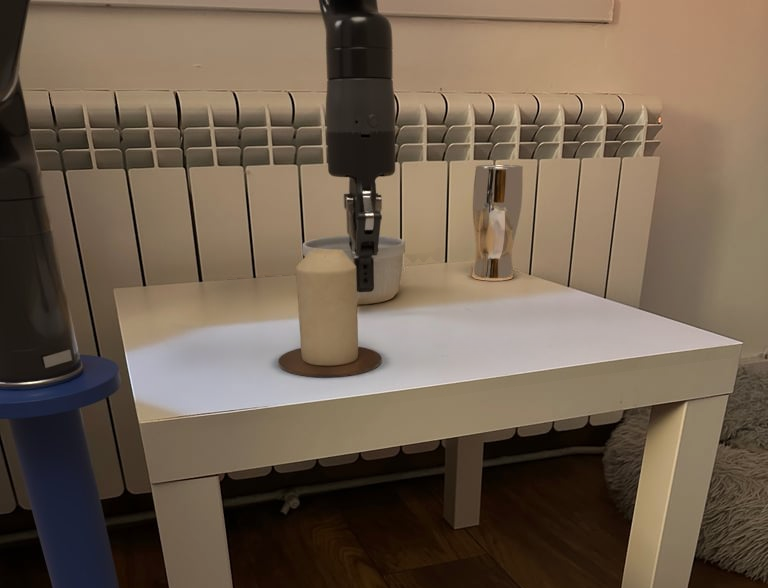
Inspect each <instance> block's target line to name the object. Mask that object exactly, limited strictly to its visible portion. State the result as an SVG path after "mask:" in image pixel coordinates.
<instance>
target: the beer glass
mask: <svg viewBox="0 0 768 588" xmlns="http://www.w3.org/2000/svg"><path fill="white" fill-rule="evenodd" d="M523 173H524V166H523V165H516V164H515V165H514V164H482V165H476V166H475V174H474V179H473V190H472V220H473V229H474V238H475V259H474V263H473V268H472V272H471V277H472V279H475V280H479V281H487V282H503V281H508V280H511V279H513V278H514V268H513V267H514V266H513V247H514V242H515V238H516V233H517V229H518V225H519V221H520V217H521V211H522V203H523V191H524V187H523V186H524V185H523V184H524V181H523V180H524V179H523V177H524V176H523Z"/></svg>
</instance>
